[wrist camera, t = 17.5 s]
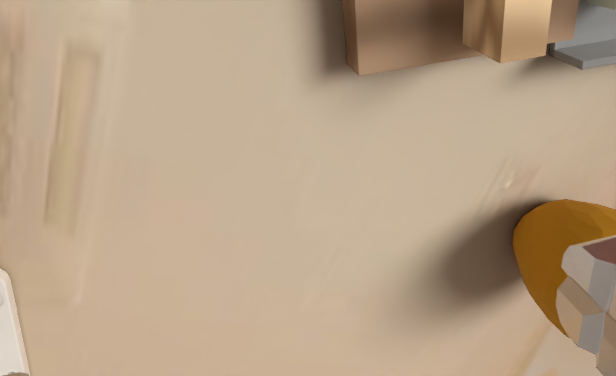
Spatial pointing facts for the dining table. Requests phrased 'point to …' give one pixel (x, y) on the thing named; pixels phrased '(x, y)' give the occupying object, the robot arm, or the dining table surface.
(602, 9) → the tray
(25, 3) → the dining table surface
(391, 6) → the board
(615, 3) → the tile
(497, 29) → the wooden plank piece
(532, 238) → the apple
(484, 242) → the dining table surface
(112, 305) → the dining table surface
